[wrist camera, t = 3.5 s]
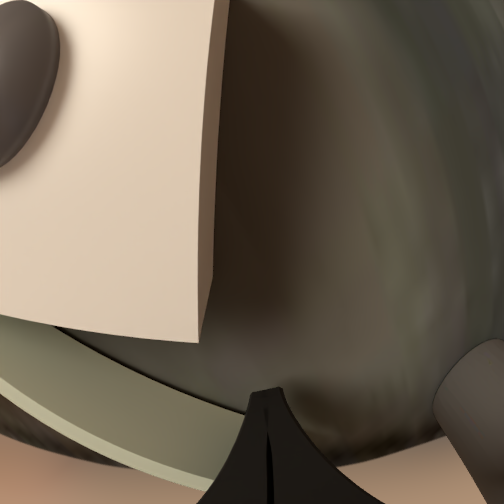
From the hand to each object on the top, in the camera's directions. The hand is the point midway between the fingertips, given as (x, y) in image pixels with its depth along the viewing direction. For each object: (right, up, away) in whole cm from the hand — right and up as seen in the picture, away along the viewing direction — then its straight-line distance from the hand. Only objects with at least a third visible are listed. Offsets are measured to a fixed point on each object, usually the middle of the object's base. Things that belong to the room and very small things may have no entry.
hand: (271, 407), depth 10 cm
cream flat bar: (-7, +1, +1) cm, 7 cm away
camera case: (-7, +10, -2) cm, 12 cm away
